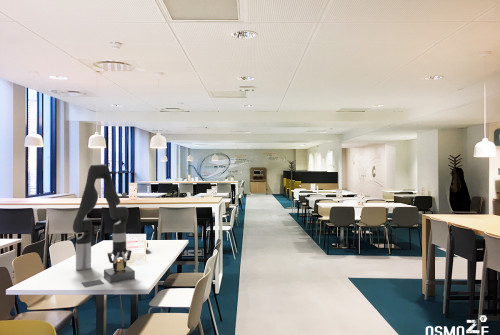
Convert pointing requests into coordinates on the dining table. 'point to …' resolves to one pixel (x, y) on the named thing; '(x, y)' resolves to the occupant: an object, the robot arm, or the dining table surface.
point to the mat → (92, 283)
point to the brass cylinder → (119, 265)
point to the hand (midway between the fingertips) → (119, 268)
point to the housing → (119, 275)
